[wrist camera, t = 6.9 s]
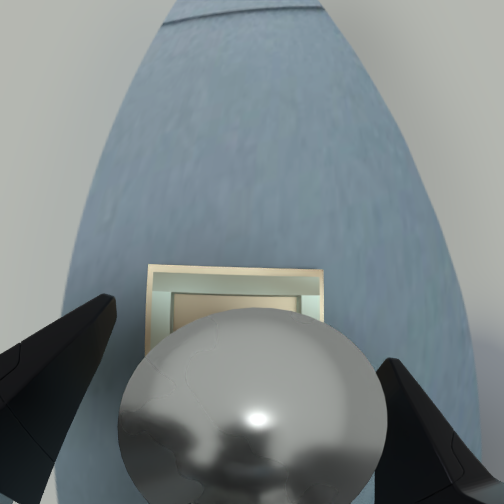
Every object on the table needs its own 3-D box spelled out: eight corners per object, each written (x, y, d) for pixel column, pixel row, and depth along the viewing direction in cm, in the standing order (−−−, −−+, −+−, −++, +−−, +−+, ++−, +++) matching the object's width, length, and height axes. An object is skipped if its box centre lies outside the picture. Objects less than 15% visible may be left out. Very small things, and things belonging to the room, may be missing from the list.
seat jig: (314, 430, 17) (325, 443, 15) (151, 428, 17) (142, 441, 14) (317, 272, 19) (329, 265, 17) (152, 267, 19) (143, 260, 16)
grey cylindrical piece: (289, 387, 17) (405, 489, 5) (205, 412, 16) (176, 560, 4) (263, 305, 18) (350, 267, 5) (178, 330, 17) (78, 345, 5)
